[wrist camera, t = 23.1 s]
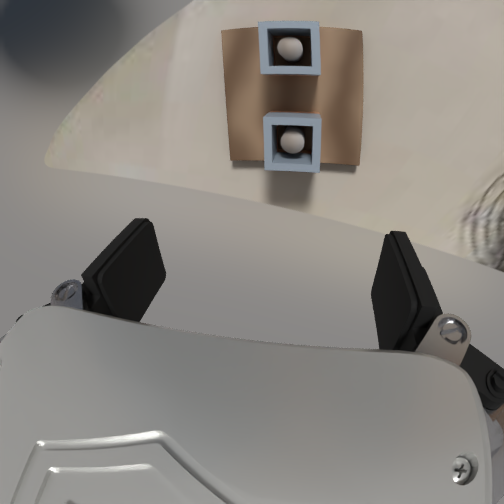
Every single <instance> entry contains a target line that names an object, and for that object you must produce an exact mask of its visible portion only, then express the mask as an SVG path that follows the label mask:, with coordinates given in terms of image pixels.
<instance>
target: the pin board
mask: <svg viewBox="0 0 504 504" xmlns="http://www.w3.org/2000/svg"><path fill="white" fill-rule="evenodd" d="M319 32H320V58H321V75H320V76H299V75H263V74H261V72H260V51H259V32H258V27H252V28H240V29H230V30H222V31H221V33H222V49H223V65H224V80H225V94H226V108H227V121H228V135H229V147H230V160H264V131H263V117H264V116H265V115H266V114H267V113H269V112H270V111H302V112H319V114H320V116H321V119H322V120H321V154H320V163H334V164H346V165H358V166H359V164H360V151H361V137H362V118H363V39H362V31H359V30H351V29H342V28H330V27H319ZM274 45H275V66H311V49H310V38H293V37H285V38H274ZM311 148H312V126H299V125H278V149H284V150H285V151H286V152H288V153H292V154H293V153H298V152H300V151H301V150H309V151H311Z"/></svg>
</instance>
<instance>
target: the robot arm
mask: <svg viewBox="0 0 504 504" xmlns="http://www.w3.org/2000/svg"><path fill="white" fill-rule="evenodd" d="M81 276H82V278H83V280H84V283H83V284H81V282H80V281H79V280H75V279H73V280H68V281H65V282H63V283H61V284H60V285H59V286H57V287H56V289H55V290H54V291H53V293H52V296H51V303H49V304H47V305H45V306H42V307H38V308H35V309H32V310H30V311H28V312H26V313H25V314H24V315H21V316H20V317H19V318H18V319H17V321H16V323H15V325H14V326H13V327H12V328H11V329H10V331H9V332H8V333H7V334H6V335H4V336H3V337H2V338H0V504H496V503H497V502H498V501H499V500H500V499H501V498H502V497H503V496H504V369H503V368H502V367H500V366H499V365H498V364H496V363H495V362H493V361H492V360H491V359H490V358H488V357H487V356H486V355H484V354H483V353H482V352H480V351H479V350H478V349H476V348H475V347H473V346H472V345H471V344H469V343H470V340H471V331H470V329H469V327H468V325H467V324H466V322H465V321H464V320H462V319H461V318H460V317H458V316H456V315H453V314H443V312H442V310H441V307H440V305H439V302H438V300H437V297H436V294H435V292H434V289H433V287H432V285H431V282H430V280H429V278H428V275H427V273H426V271H425V269H424V268H423V267H422V266H421V264H420V261H419V259H418V257H417V255H416V253H415V251H414V249H413V246H412V244H411V242H410V240H409V238H408V236H407V234H406V233H405V232H401V231H391V232H390V234H386V235H385V238H384V242H383V247H382V251H381V255H380V259H379V263H378V267H377V271H376V275H375V278H374V282H373V286H372V291H371V298H372V304H373V310H374V315H375V321H376V328H377V335H378V342H379V349H358V348H337V347H321V346H307V345H294V344H282V343H273V342H264V341H254V340H246V339H238V338H230V337H222V336H216V335H209V334H202V333H196V332H190V331H184V330H178V329H173V328H167V327H161V326H156V325H151V324H146V323H141V322H140V320H141V319H142V317H143V315H144V314H145V312H146V310H147V309H148V307H149V305H150V304H151V301H152V300H153V299H154V297H155V295H156V294H157V292H158V290H159V289H160V287H161V286H162V284H163V282H164V281H165V278H166V271H165V268H164V264H163V261H162V257H161V253H160V250H159V246H158V242H157V238H156V234H155V230H154V226H153V223H152V222H150V221H149V219H147V218H145V219H144V218H135V219H134V220H133V221H132V222H131V223H130V224H129V225H128V226H127V227H126V228H125V229H124V230H123V231H122V232H121V233H120V234H119V235H118V236H117V237H116V238H115V239H114V240H113V241H112V242H111V243H110V244H109V245H108V246H107V247H106V248H105V249H104V250H103V251H102V252H101V254H100V255H99V256H98V257H97V258H96V259H95V260H94V261H93V262H92V263H91V264H90V266H89V267H88V268H87V269H86V270H85V271H84V272H83V273H82V275H81Z"/></svg>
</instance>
